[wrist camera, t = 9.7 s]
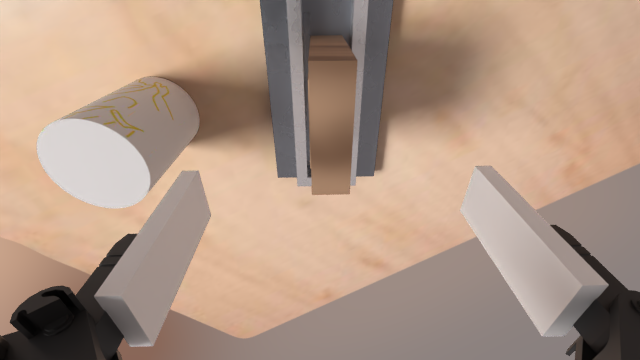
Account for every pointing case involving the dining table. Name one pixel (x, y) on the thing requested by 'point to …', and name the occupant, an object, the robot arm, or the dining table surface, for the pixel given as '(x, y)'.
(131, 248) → the robot arm
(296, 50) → the track
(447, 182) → the dining table surface
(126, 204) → the yellow-veined white cylinder
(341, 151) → the door panel
